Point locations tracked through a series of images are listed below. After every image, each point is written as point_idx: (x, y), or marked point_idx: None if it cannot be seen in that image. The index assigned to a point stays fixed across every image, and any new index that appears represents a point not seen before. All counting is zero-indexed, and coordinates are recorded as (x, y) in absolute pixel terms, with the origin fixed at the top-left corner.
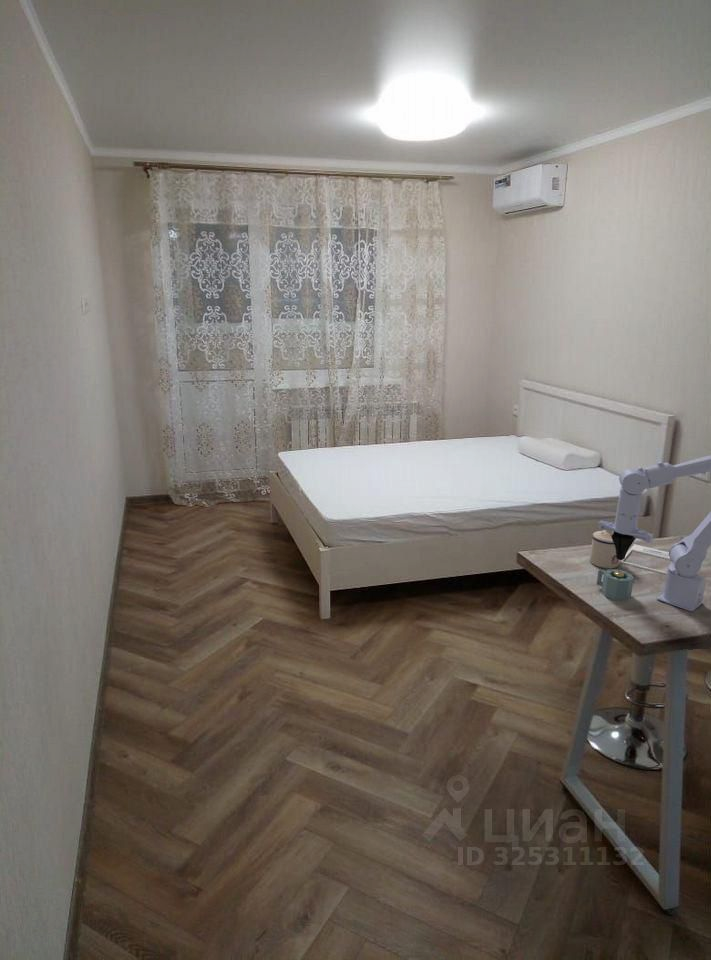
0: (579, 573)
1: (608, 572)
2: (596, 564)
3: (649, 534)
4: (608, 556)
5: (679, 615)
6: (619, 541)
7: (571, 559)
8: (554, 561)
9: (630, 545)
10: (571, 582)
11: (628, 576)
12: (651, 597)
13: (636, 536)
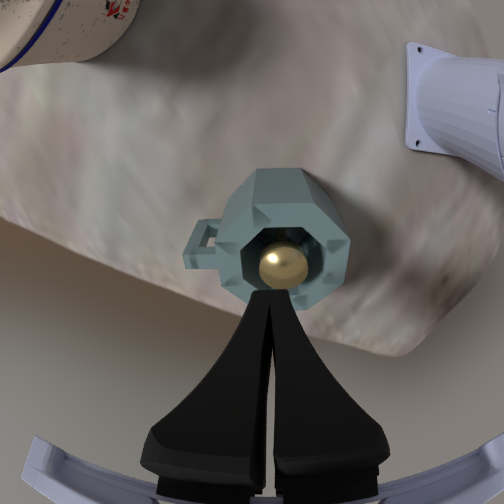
0: (97, 168)
1: (235, 275)
2: (84, 60)
3: (497, 486)
4: (90, 31)
5: (468, 204)
6: (265, 463)
7: (26, 102)
8: (20, 166)
9: (327, 376)
10: (135, 249)
11: (324, 245)
12: (384, 137)
13: (391, 497)
